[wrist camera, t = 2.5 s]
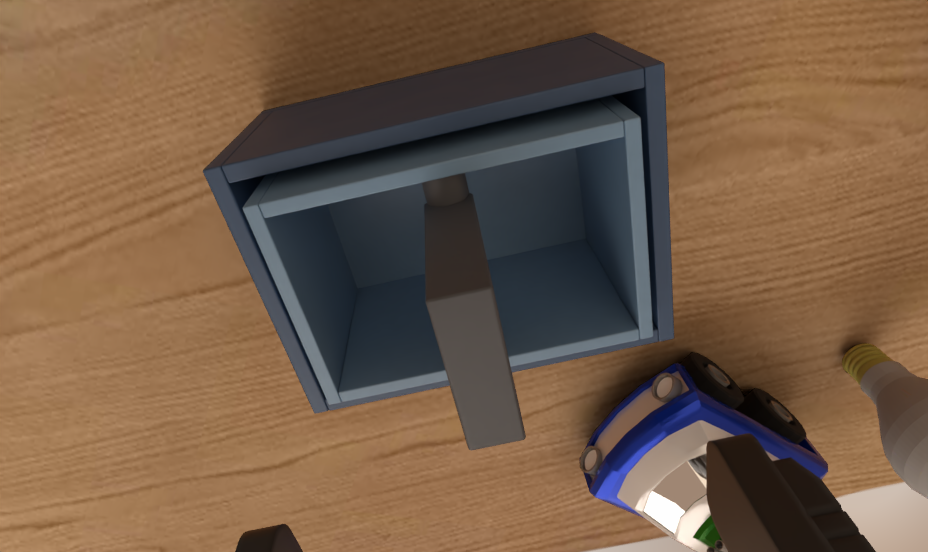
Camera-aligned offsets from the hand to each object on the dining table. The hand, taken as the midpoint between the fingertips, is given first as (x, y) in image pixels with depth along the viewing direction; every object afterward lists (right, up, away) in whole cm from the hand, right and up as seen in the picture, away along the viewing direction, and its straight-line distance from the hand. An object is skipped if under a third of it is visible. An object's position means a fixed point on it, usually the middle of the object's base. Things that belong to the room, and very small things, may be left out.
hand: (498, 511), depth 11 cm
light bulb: (+22, 0, +22) cm, 31 cm away
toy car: (+12, -4, +24) cm, 27 cm away
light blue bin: (-1, +8, +15) cm, 17 cm away
